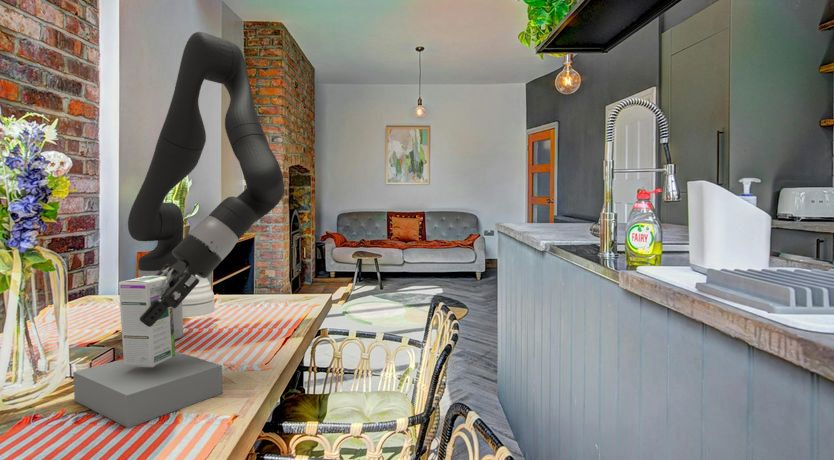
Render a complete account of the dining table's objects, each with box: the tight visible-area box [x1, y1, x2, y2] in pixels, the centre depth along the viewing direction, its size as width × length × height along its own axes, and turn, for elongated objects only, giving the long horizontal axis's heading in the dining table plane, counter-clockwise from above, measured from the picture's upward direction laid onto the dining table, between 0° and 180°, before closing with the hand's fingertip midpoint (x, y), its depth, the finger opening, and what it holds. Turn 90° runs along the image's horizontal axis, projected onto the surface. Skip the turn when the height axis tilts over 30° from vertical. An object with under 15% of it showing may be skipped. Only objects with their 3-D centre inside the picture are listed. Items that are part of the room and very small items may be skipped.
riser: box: [72, 350, 224, 429], centre depth 86 cm, size 18×16×5 cm
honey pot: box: [182, 275, 215, 318], centre depth 149 cm, size 13×13×18 cm
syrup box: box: [118, 276, 176, 367], centre depth 85 cm, size 6×6×14 cm
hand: (138, 319), depth 84 cm, fingers closed on syrup box, 7 cm apart
